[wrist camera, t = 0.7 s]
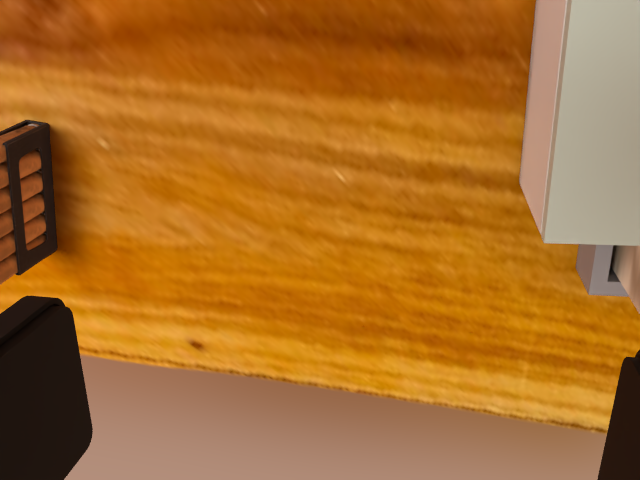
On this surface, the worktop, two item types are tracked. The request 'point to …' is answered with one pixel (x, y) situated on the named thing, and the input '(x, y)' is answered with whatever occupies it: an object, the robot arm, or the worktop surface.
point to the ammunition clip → (25, 198)
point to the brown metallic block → (628, 270)
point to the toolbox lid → (596, 128)
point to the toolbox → (539, 137)
